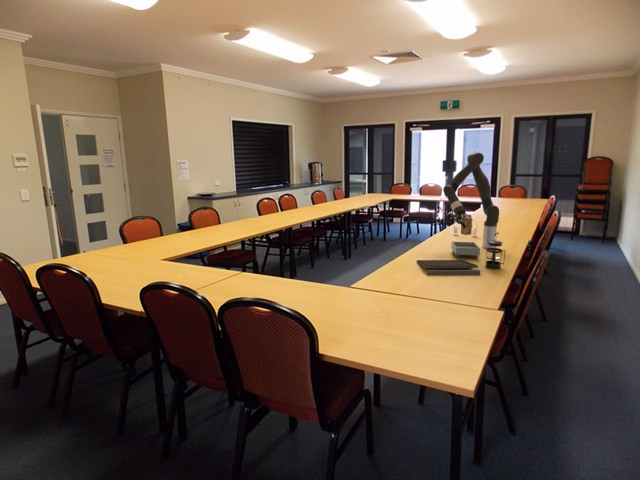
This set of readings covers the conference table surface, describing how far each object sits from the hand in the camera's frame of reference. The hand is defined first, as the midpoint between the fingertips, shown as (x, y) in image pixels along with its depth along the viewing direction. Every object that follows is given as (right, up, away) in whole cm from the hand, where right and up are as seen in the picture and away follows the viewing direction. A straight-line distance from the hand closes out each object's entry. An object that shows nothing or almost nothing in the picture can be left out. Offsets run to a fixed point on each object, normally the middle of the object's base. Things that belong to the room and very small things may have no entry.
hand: (468, 227), depth 288 cm
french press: (+8, -27, -24) cm, 37 cm away
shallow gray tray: (0, -20, +6) cm, 21 cm away
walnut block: (-1, -5, +3) cm, 6 cm away
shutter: (-23, -28, -25) cm, 44 cm away
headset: (+25, -5, +76) cm, 80 cm away
